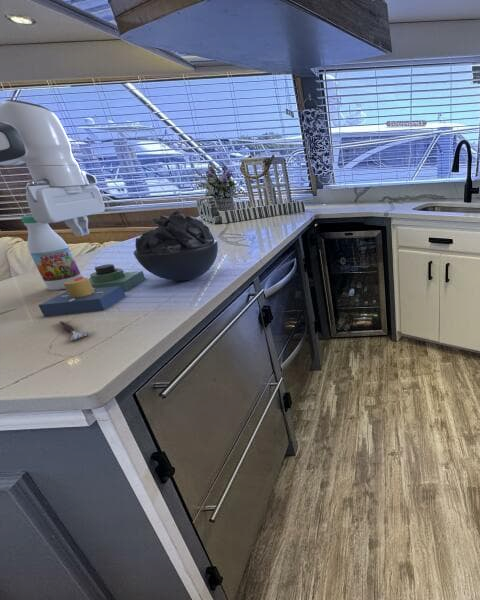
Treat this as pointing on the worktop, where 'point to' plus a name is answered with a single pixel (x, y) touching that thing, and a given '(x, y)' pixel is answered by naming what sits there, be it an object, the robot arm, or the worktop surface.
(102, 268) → the black round button
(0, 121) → the robot arm
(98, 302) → the dial panel
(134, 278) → the green stepped base
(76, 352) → the worktop surface
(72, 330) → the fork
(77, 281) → the dial
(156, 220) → the coal bowl
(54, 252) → the milk bottle
